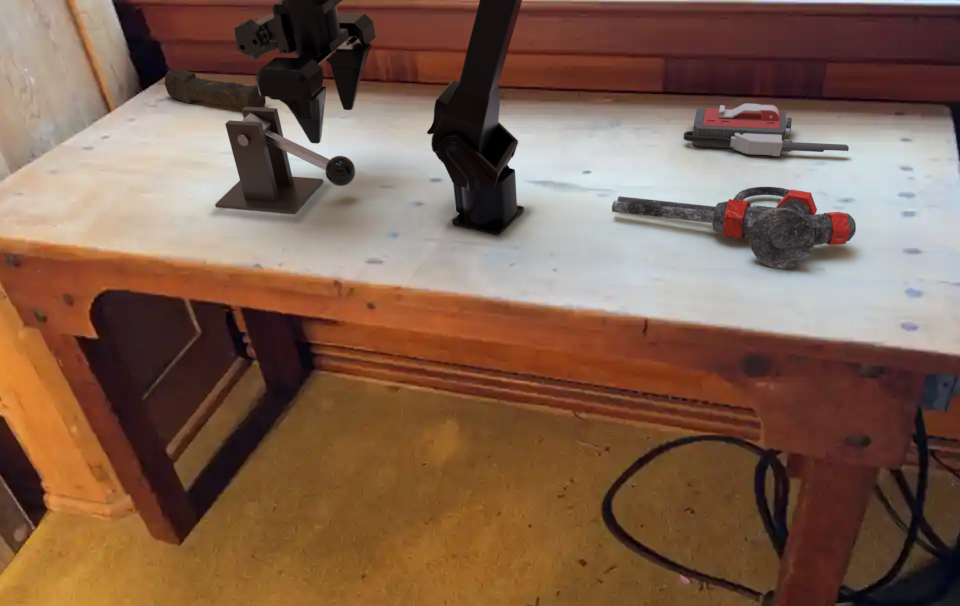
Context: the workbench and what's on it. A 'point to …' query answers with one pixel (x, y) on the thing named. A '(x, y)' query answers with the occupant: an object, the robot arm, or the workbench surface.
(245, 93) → the hand tool
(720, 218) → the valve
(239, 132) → the bracket
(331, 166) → the lever
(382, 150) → the workbench surface
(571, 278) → the workbench surface
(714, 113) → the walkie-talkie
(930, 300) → the workbench surface
